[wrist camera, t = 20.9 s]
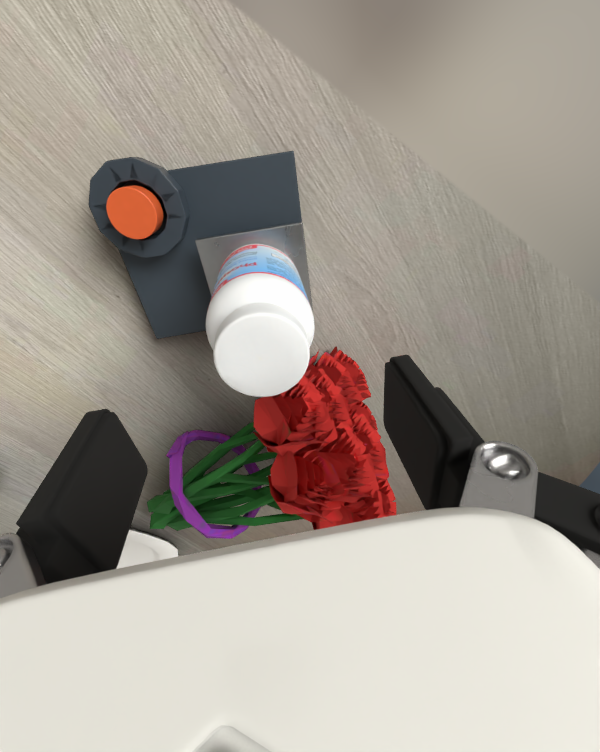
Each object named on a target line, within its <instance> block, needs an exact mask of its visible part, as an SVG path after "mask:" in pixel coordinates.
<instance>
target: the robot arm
mask: <svg viewBox="0 0 600 752" xmlns="http://www.w3.org/2000/svg"><path fill="white" fill-rule="evenodd" d="M384 426H385V429H386V431H387V433H388V435H389V437H390V439H391V441H392V443H393V445H394V447H395V449H396V451H397V453H398V455H399V457H400V459H401V461H402V463H403V465H404V467H405V469H406V471H407V473H408V475H409V477H410V479H411V481H412V484H413V486H414V488H415V490H416V492H417V494H418V496H419V498H420V500H421V502H422V504H423V506H424V507H425V509H426V510H424V511H416V512H411V513H405V514H399V515H393V516H387V517H382V518H376V519H370V520H364V521H359V522H354V523H349V524H343V525H338V526H333V527H328V528H322V529H317V530H312V531H307V532H301V533H296V534H291V535H286V536H280V537H275V538H270V539H265V540H260V541H255V542H250V543H244V544H239V545H234V546H229V547H224V548H219V549H214V550H209V551H204V552H199V553H193V554H188V555H183V556H178V557H173V558H168V559H164V560H159V561H154V562H149V563H144V564H139V565H134V566H129V567H124V568H119V569H116V568H117V566H118V563H119V560H120V557H121V554H122V551H123V548H124V544H125V541H126V538H127V535H128V532H129V529H130V526H131V523H132V519H133V516H134V513H135V510H136V507H137V504H138V501H139V498H140V495H141V491H142V488H143V485H144V482H145V479H146V476H147V465H146V463H145V461H144V459H143V458H142V456H141V454H140V453H139V451H138V450H137V448H136V446H135V445H134V443H133V441H132V440H131V438H130V436H129V435H128V433H127V431H126V430H125V428H124V426H123V425H122V423H121V422H120V420H119V418H118V417H117V415H116V414H115V413H114V412H110V411H109V410H107V409H102V410H97V411H91V412H88V413H86V414H85V415H84V417H83V419H82V420H81V422H80V423H79V425H78V426H77V428H76V430H75V431H74V433H73V434H72V436H71V438H70V439H69V441H68V442H67V444H66V445H65V447H64V449H63V450H62V452H61V453H60V455H59V456H58V458H57V460H56V461H55V463H54V464H53V466H52V468H51V469H50V471H49V472H48V474H47V475H46V477H45V479H44V480H43V482H42V483H41V485H40V486H39V488H38V490H37V491H36V493H35V494H34V496H33V498H32V499H31V501H30V502H29V504H28V505H27V507H26V509H25V510H24V512H23V513H22V515H21V516H20V518H19V520H18V521H17V523H16V524H17V525H18V526H19V527H20V528H19V530H18V532H17V533H16V534H13V533H6V534H1V535H0V752H600V494H598V493H595V492H592V491H590V490H587V489H584V488H581V487H579V486H576V485H573V484H571V483H568V482H565V481H562V480H560V479H557V478H554V477H551V476H549V475H546V474H543V473H540V472H538V469H537V464H536V463H535V461H534V459H533V458H532V457H531V456H530V455H529V454H528V453H527V452H526V451H524V450H522V449H521V448H519V447H517V446H515V445H512V444H510V443H506V442H501V441H489V442H484V440H483V439H482V438H481V437H480V436H479V434H478V433H477V432H476V431H475V429H474V428H473V427H472V426H471V425H470V423H469V422H468V421H467V420H466V418H465V417H464V416H463V415H462V414H461V412H460V411H459V410H458V409H457V407H456V406H455V405H454V404H453V403H452V401H451V400H450V399H449V398H448V396H447V395H446V394H445V393H444V391H443V390H441V389H440V388H438V387H436V388H434V387H433V385H432V384H431V383H430V382H429V380H428V379H427V378H426V377H425V375H424V374H423V373H422V372H421V370H420V369H419V368H418V367H417V365H416V364H415V363H414V361H413V360H412V359H411V358H410V356H408V355H403V356H397V357H392V358H390V362H387V363H386V364H385V382H384Z"/></svg>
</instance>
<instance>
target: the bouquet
mask: <svg viewBox="0 0 600 752" xmlns="http://www.w3.org/2000/svg"><path fill="white" fill-rule="evenodd" d="M318 352H319V351H318ZM318 352H317V354H316V355H315V356H313V357H312V358H311V359H310V362H309V366H308V367H307V369H306V372H305V374H304V375H303V377H302V378H301V380H300V381H299V382H298V383H297V384H296V385H295V386H293V387H292V388H290V389H289V390H287V391H285V392H283V393H281V394H278V395H275V396H268V397H261V398H259V399H257V400H255V406H254V422H252V423H249V424H248V425H247V426H245V427H244V428H243V429H241V430H240V431H239V432H237V433H236V434H235V435H233V436H232V437H230V436H227V435H225V434H222V433H216V432H210V431H203V430H193V431H190V432H188V431H187V432H185V433H184V434H182V435H181V436H178V438H177V439H176V441H175V442H174V444H173V445H172V447H171V449H170V450H169V452H168V453H167V455H166V456H167V457H168V458H170V478H169V485H170V489H169V490H167V491H165V492H163V495H158V496H155V497H154V498H152V499H151V500H149V501H148V502H147V505H148V509H149V512H154V513H153V514H152V515H151V521H150V529H164V528H165V526H166V525H167V526H169V527H171V528H173V529H175V530H177V531H178V530H182V529H185V528H189V527H194V528H195V529H197V530H198V531H199V532H200V533H201V534H203V535H204V536H205V537H206V538H231V539H232V538H233V537H235V536H236V535H238V534H240V533H241V532H243V531H245V530H246V529H247V528H248V527H249V526H257V525H264V524H271V523H278V522H285V521H292V520H299V519H306V520H308V521H310V522H312V524H313V528H314V530H317V529H322V528H328V527H333V526H338V525H343V524H349V523H354V522H359V521H364V520H370V519H376V518H382V517H387V516H393V515H396V502H392V501H394V500H395V496H394V493H393V491H392V489H391V487H390V485H389V483H388V480H387V478H388V477H389V473H388V469H387V465H386V456H385V448H384V447H383V445H382V444H381V442H380V439H381V436H380V435H379V434H378V432H377V429H378V428H377V426H376V425H377V424H376V420H375V418H374V416H373V415H371V411H370V410H369V408H368V407H367V406H366V405H365V404H364V403H363V402H362V401H363V400H364V399H366V398H368V397H371V393H370V392H369V390H368V388H369V387H368V386H367V384H366V383H367V382H366V380H365V377H364V374H363V372H362V370H361V369H358V368H359V366H358V365H357V363H356V362H355V361H354V360H351V358H350V357H349V358H348V356H347V355H346V354H345V355H344V354H343V352H342V351H340V350H339V351H338V352H337V347H335V348H334V349H333V351H332V352H331V353H330V354H329V353H327V352H325V353H324V354H323V356H322V357H321V358H320V359H319V361H318V362H317V363H316V365H315V366H314V365H313V364H314V362H315V361H316V358H317V355H318ZM255 429H256V431H257V432H253V433H252V434H250V433H251V432H252V431H253V430H255ZM256 439H259V440H258V441H257V442H255V443H254V444H253V445H252V446H251V447H249V448H248V449H247V450H246V449H245V448H244V447H243V446H242V445H243V444H245V443H248V442H250V441H253V440H256ZM196 440H205V441H216V442H219V443H221V444H220V445H219V446H217V447H216V448H215V449H214V450H213V451H212V452H210V453H209V454H208V455H207V456H206V457H205V458H203V459H202V460H201V461H199V463H197V464H196V465H195V466H194V467H193V468H192V469H190V470H189V471H188V472H187V473H186V474H185V475H184V476H183V477H182V456H183V453H184V449H185V446H186V445H187V444H189V443H190V442H191V441H196ZM265 446H266V447H267V450H268V452H267V453H262V454H258V453H259V452H260V451H261V450H262V449H263V448H264V447H265ZM230 450H232V451H234V452H235V453H237V454H238V456H237V457H236V458H234V459H233V460H231V461H229V462H228V463H226V464H225V465H223V466H221V467H219V468H217V469H215V470H214V471H212V472H210V473H208V474H206V475H204V473H205V472H206V471H207V470H208V469H209V468H210V467H211V466H213V465H214V464H215V463H216V462H217V461H218V460H220V459H221V458H222V457H223V456H224V455H225V454H227V453H228V452H229V451H230ZM275 457H276V459H275V461H274V463H273V464H272V465H270V466H268V467H266V468H264V469H262V470H259V468H258V466H257V465H256V463H255V462H259V461H263V460H267V459H271V458H275ZM243 465H244V466H245V468H246V470H247V471H248V473H249V475H238V474H233V473H234V472H235V471H237V470H238V469H239V468H240V467H242V466H243ZM270 474H271V476H270ZM203 475H204V476H203ZM266 476H268V477H266ZM264 477H265V478H264ZM221 482H227V483H224V484H221ZM261 485H269V486H266V487H263V488H262V487H261ZM230 494H235V495H231V496H226V495H230ZM220 496H226V497H221V498H217V497H220ZM215 498H217V499H215ZM247 502H249V503H247ZM244 503H246V504H244ZM240 504H244V505H241V506H238V507H234V506H237V505H240ZM266 504H267V505H269V506H272V507H274V508H276V509H279V510H281V511H282V512H283V513H284V514H277V515H270V516H263V517H256V518H254V517H255V516H256V514H257V512H258V511H259V509H260V508H261V507H262V506H264V505H266ZM230 507H231V508H230ZM245 513H246V514H245ZM243 514H245V515H244V516H240V515H243ZM207 523H213V524H207ZM214 524H230V525H232V526H231V527H230V526H222V525H214Z"/></svg>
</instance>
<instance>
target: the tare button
mask: <svg viewBox="0 0 600 752" xmlns="http://www.w3.org/2000/svg"><path fill="white" fill-rule="evenodd" d="M106 209H107V214H108V217H109V220H110V222H111V223H112V225H113V226H114V227H115V228H116V229H117V230H118V231H119V232H120V233H121V234H123V235H124V236H126V237H129V238H132V239H145V238H147V237H149V236H150V235H152V234H153V233H155V232H156V231H157V230H158V229H159V228H160V227H161V225H162V222H163V210H162V207H161V204H160V202H159V200H158V199H157V198H156V196H155V195H154V194H153V193H152V192H150V191H149V190H147V189H146V188H144V187H141V186H136V185H132V186H126V187H121V188H118V189H116V190H114V191H113V192H112V193H111V194H110V195H109V197H108V200H107V204H106Z"/></svg>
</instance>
